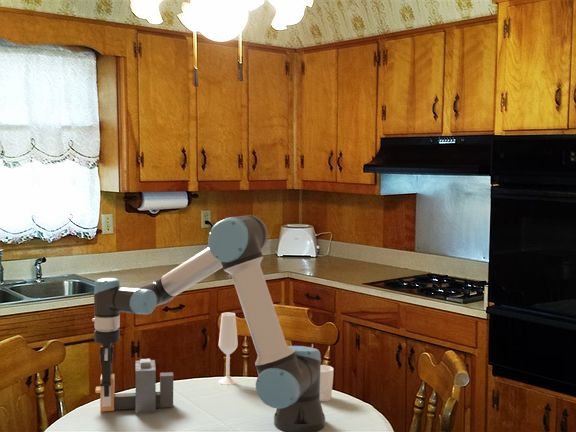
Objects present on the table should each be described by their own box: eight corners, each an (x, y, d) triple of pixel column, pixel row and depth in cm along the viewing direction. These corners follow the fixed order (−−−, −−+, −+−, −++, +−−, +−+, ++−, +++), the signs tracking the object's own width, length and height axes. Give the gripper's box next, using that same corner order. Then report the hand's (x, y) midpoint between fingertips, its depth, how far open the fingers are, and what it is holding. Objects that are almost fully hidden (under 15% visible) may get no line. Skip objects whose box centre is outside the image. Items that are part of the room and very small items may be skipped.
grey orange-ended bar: (172, 402, 230) (172, 371, 229) (173, 407, 225) (173, 376, 224) (96, 406, 225) (96, 374, 224) (95, 411, 220) (95, 379, 220)
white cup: (331, 403, 233) (331, 372, 232) (306, 401, 235) (307, 371, 234) (334, 395, 241) (335, 365, 240) (311, 393, 242) (311, 364, 242)
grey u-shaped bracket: (154, 401, 232) (154, 355, 231) (155, 413, 221) (155, 365, 220) (135, 402, 231) (135, 356, 229) (135, 414, 220) (135, 366, 219)
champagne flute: (217, 384, 250) (218, 316, 248) (218, 378, 256) (219, 311, 254) (236, 384, 250) (237, 316, 248) (237, 378, 256) (238, 311, 254)
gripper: (96, 322, 229) (96, 393, 231) (92, 336, 212) (92, 413, 214) (120, 321, 231) (120, 392, 233) (118, 335, 213) (118, 412, 215)
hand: (107, 402), depth 223 cm, fingers closed on grey orange-ended bar, 5 cm apart
